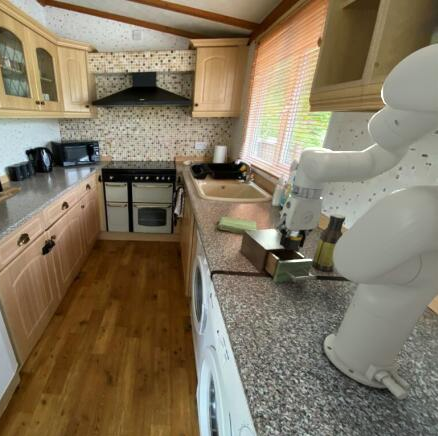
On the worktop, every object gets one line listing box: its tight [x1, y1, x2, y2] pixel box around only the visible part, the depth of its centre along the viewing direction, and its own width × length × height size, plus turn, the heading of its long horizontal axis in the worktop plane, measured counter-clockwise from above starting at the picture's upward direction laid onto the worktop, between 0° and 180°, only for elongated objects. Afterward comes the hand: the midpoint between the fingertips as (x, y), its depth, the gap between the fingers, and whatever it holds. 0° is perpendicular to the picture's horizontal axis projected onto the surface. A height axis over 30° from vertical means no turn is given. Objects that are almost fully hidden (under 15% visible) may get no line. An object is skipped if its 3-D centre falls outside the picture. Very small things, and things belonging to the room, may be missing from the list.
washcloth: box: [217, 216, 258, 235], centre depth 117 cm, size 13×18×3 cm
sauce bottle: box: [312, 213, 346, 271], centre depth 84 cm, size 6×6×20 cm
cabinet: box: [240, 228, 300, 273], centre depth 90 cm, size 15×13×9 cm
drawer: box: [264, 250, 317, 283], centre depth 81 cm, size 18×11×7 cm, turn 9°
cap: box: [288, 231, 302, 250], centre depth 78 cm, size 4×4×4 cm
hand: (291, 245), depth 78 cm, fingers closed on cap, 4 cm apart
